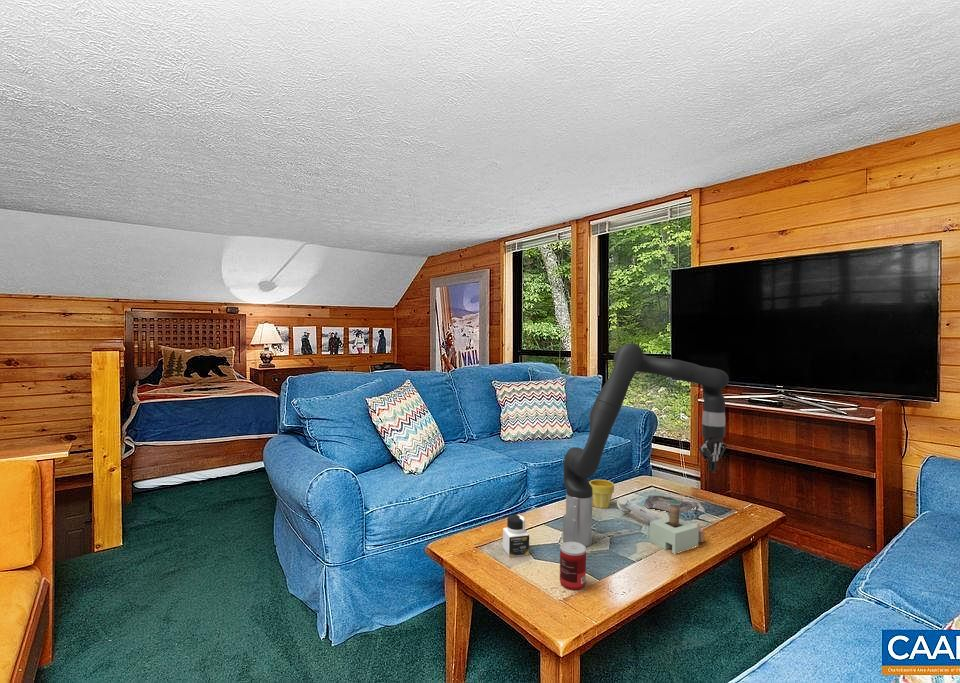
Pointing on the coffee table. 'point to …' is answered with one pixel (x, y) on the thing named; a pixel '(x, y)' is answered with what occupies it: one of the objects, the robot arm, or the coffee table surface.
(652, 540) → the dock
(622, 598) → the coffee table surface
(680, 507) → the terrain model
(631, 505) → the white handheld tool
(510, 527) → the medicine bottle
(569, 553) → the canned food
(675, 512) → the dowel
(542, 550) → the coffee table surface
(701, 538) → the pin
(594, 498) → the plant pot
